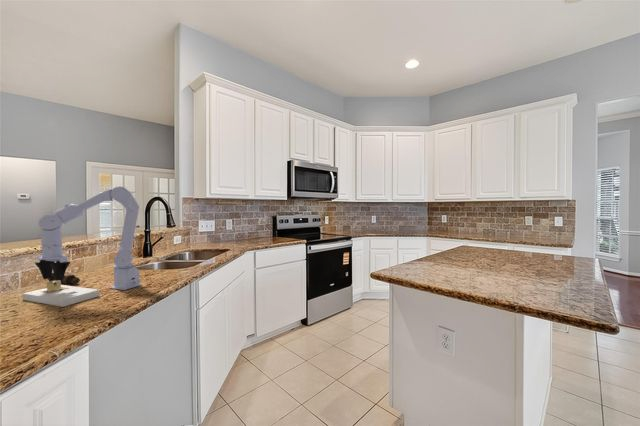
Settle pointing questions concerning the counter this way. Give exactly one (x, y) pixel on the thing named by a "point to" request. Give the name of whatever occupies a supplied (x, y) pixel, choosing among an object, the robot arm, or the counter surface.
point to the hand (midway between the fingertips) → (53, 279)
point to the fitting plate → (61, 295)
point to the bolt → (66, 279)
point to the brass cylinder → (53, 286)
